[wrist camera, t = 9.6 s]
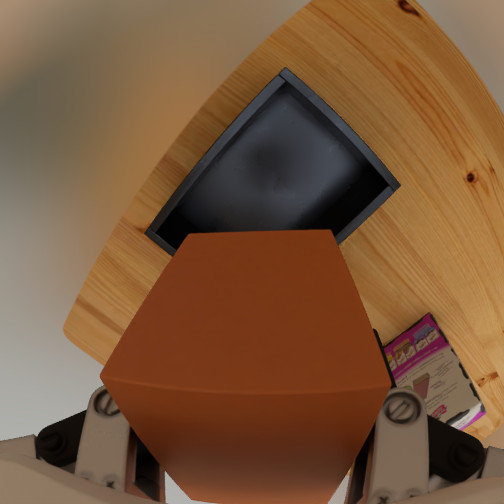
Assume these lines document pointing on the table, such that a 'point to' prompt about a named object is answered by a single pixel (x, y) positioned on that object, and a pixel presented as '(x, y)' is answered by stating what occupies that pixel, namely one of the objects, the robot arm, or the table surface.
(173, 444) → the orange brown rectangular block
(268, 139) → the dark open storage bin
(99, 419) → the robot arm
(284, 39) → the table surface
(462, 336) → the table surface
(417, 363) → the candy bar box
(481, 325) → the table surface
